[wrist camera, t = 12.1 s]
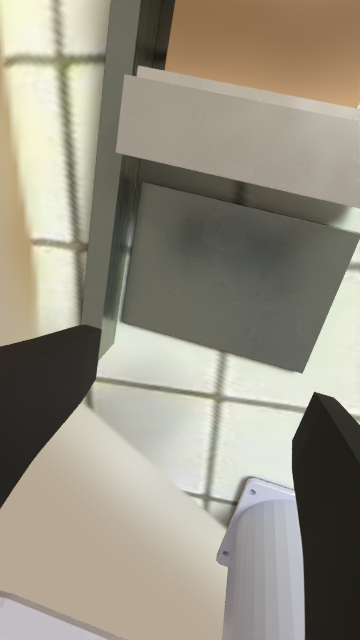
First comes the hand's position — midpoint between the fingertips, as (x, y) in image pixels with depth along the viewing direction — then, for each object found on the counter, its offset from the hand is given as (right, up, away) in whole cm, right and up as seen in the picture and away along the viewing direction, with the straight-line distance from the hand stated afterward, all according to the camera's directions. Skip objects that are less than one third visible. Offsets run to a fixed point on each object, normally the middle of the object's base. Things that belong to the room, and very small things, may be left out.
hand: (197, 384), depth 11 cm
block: (+3, +14, +4) cm, 15 cm away
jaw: (+3, +10, +4) cm, 11 cm away
